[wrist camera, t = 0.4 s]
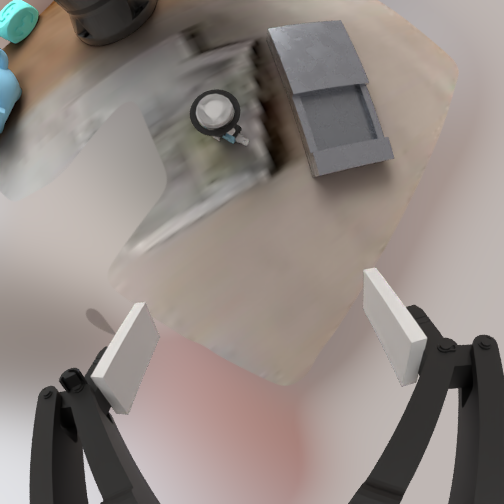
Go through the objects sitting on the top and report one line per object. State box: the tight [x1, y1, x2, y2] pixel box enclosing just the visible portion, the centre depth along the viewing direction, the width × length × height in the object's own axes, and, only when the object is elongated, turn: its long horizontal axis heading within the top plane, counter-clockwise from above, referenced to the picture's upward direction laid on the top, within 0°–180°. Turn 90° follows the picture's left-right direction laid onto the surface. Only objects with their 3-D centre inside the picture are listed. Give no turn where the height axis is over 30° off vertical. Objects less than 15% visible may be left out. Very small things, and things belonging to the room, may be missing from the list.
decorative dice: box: [0, 0, 39, 44], centre depth 27 cm, size 8×8×8 cm
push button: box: [190, 90, 249, 146], centre depth 32 cm, size 7×5×10 cm
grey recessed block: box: [267, 20, 394, 177], centre depth 34 cm, size 22×11×4 cm, turn 16°
